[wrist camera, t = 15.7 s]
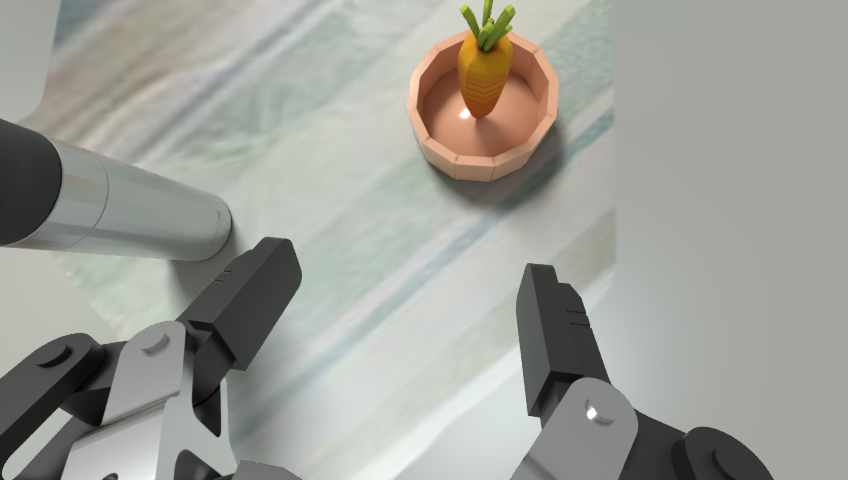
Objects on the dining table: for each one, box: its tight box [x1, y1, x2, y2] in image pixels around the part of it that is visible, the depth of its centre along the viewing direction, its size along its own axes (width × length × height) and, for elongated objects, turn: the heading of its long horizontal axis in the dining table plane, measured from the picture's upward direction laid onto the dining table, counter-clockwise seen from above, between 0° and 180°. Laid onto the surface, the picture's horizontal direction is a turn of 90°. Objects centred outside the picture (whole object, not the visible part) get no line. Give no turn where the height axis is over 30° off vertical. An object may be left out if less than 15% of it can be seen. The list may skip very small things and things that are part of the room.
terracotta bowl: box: [407, 29, 559, 182], centre depth 35 cm, size 16×16×5 cm
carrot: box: [458, 0, 515, 119], centre depth 29 cm, size 5×5×15 cm
